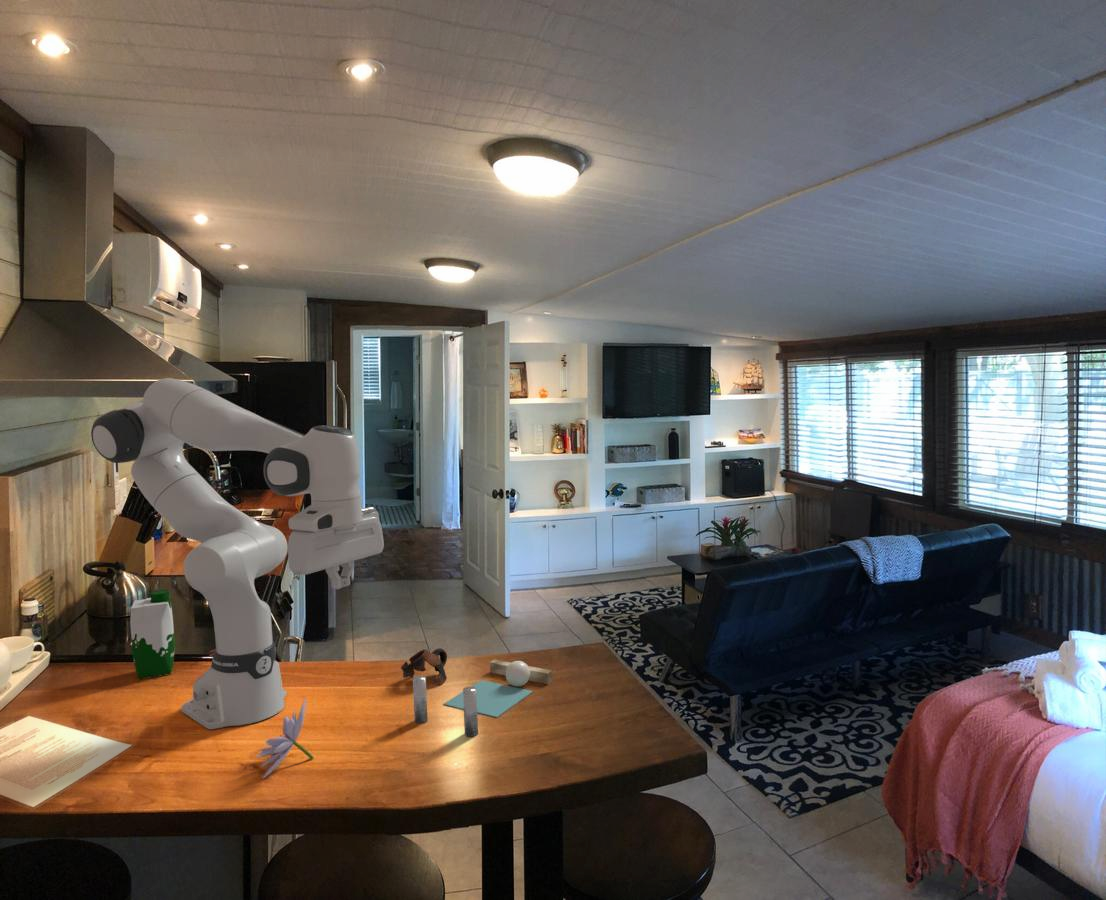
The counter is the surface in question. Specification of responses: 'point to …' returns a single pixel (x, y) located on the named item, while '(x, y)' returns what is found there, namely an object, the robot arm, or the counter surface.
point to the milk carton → (152, 635)
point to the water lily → (284, 741)
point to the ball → (517, 673)
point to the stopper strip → (535, 673)
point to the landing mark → (492, 698)
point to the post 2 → (470, 711)
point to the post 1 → (420, 699)
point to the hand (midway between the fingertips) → (341, 587)
